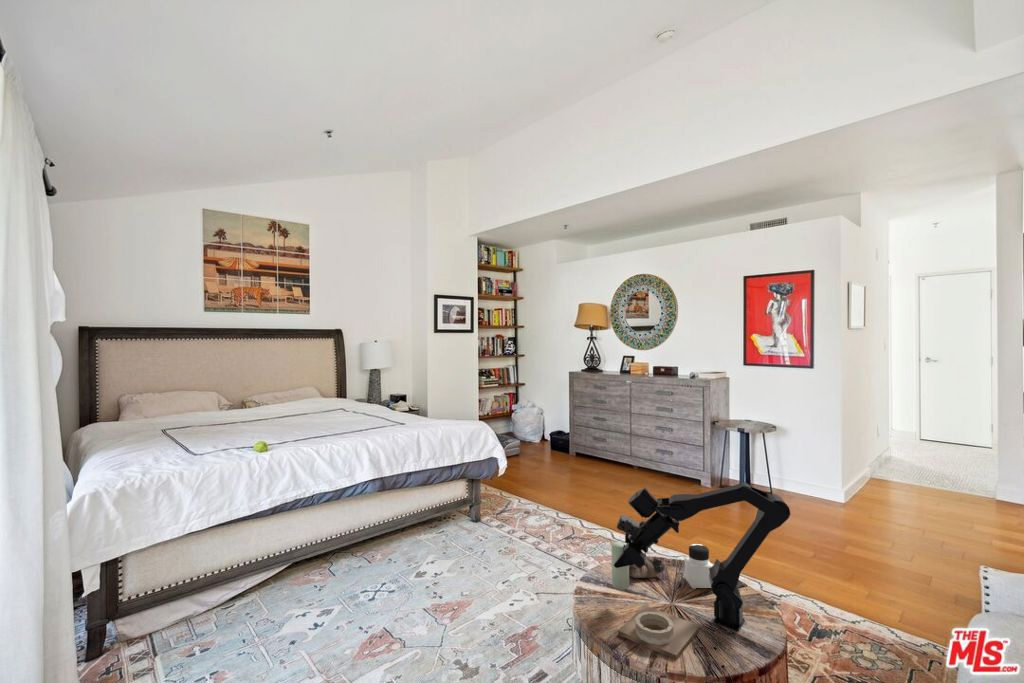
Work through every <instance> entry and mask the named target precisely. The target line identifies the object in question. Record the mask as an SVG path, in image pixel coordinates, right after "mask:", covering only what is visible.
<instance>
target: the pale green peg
mask: <svg viewBox="0 0 1024 683" xmlns="http://www.w3.org/2000/svg"><path fill="white" fill-rule="evenodd" d="M626 544H627V543H625V541H620V540H619V541H614V542H613V541H612V543H611V544H610V545H611V583H612V584H611V585H612V587H613V588H615V589H617V590H628V589H629V588H630V575H629V566H624V567H619V568H616V567H615V566H614V564H615V562H616V561H617V560H618V558H619V557H620V556H621V555H622V553H623V546H624V545H625V546H626Z"/></svg>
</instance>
